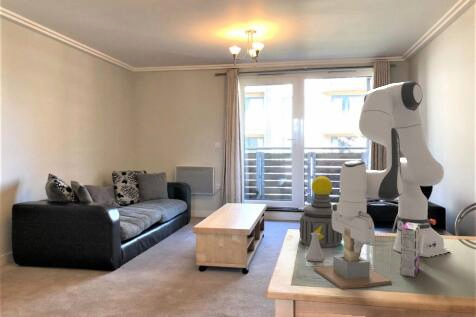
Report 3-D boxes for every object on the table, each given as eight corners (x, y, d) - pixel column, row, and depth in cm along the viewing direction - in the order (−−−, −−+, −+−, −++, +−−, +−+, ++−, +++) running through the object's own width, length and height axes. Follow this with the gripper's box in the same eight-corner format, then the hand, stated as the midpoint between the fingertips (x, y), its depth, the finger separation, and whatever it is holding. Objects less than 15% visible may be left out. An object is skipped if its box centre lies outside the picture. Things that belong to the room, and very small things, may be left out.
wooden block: (352, 267, 128) (353, 226, 128) (358, 270, 125) (359, 229, 124) (343, 267, 127) (344, 227, 127) (349, 271, 124) (350, 229, 123)
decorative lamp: (296, 246, 162) (298, 177, 161) (302, 235, 180) (303, 173, 179) (341, 250, 157) (343, 179, 156) (342, 239, 175) (344, 175, 174)
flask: (324, 262, 140) (325, 236, 140) (305, 261, 142) (305, 235, 141) (324, 257, 147) (324, 231, 147) (305, 255, 149) (305, 230, 148)
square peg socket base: (358, 265, 137) (358, 249, 137) (391, 283, 120) (391, 265, 120) (314, 269, 132) (314, 253, 132) (341, 289, 115) (342, 270, 115)
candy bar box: (404, 265, 138) (405, 221, 137) (419, 268, 135) (420, 223, 134) (399, 275, 128) (400, 227, 128) (415, 277, 126) (417, 229, 125)
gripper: (380, 214, 116) (379, 258, 117) (344, 203, 136) (343, 241, 136) (362, 215, 114) (361, 260, 115) (328, 204, 134) (328, 242, 135)
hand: (351, 249), depth 126 cm, fingers closed on wooden block, 3 cm apart
